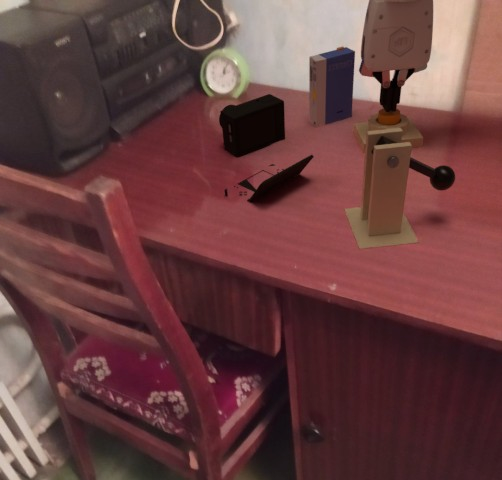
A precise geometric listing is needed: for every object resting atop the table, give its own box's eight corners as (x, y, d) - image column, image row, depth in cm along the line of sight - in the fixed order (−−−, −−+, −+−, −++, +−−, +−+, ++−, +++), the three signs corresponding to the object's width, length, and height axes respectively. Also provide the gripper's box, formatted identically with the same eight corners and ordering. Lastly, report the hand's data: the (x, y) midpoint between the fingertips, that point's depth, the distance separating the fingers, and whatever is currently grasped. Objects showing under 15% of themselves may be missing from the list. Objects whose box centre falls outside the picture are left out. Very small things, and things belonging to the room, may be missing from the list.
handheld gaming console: (261, 156, 96) (286, 121, 87) (292, 187, 97) (320, 155, 88) (218, 196, 91) (240, 163, 82) (251, 229, 92) (277, 199, 83)
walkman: (343, 112, 110) (346, 44, 102) (351, 117, 109) (355, 49, 100) (307, 122, 108) (307, 54, 100) (315, 128, 106) (316, 59, 98)
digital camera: (267, 129, 107) (266, 90, 103) (285, 139, 104) (284, 100, 99) (220, 146, 104) (216, 108, 99) (237, 157, 100) (233, 118, 95)
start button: (396, 116, 100) (397, 106, 99) (401, 125, 98) (403, 115, 97) (375, 118, 100) (376, 108, 99) (380, 127, 98) (381, 117, 97)
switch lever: (440, 186, 79) (455, 166, 78) (447, 198, 77) (463, 178, 75) (368, 152, 75) (382, 130, 73) (374, 164, 73) (389, 142, 71)
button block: (408, 126, 104) (411, 107, 102) (422, 147, 99) (425, 127, 96) (353, 132, 104) (354, 113, 102) (363, 153, 98) (364, 133, 96)
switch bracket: (398, 209, 85) (409, 117, 76) (418, 249, 78) (433, 153, 69) (343, 215, 85) (348, 124, 76) (358, 255, 78) (365, 160, 69)
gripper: (356, -4, 82) (349, 122, 95) (461, -14, 82) (440, 113, 95) (345, -18, 87) (340, 103, 100) (444, -27, 88) (426, 95, 100)
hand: (388, 108), depth 98 cm, fingers closed
